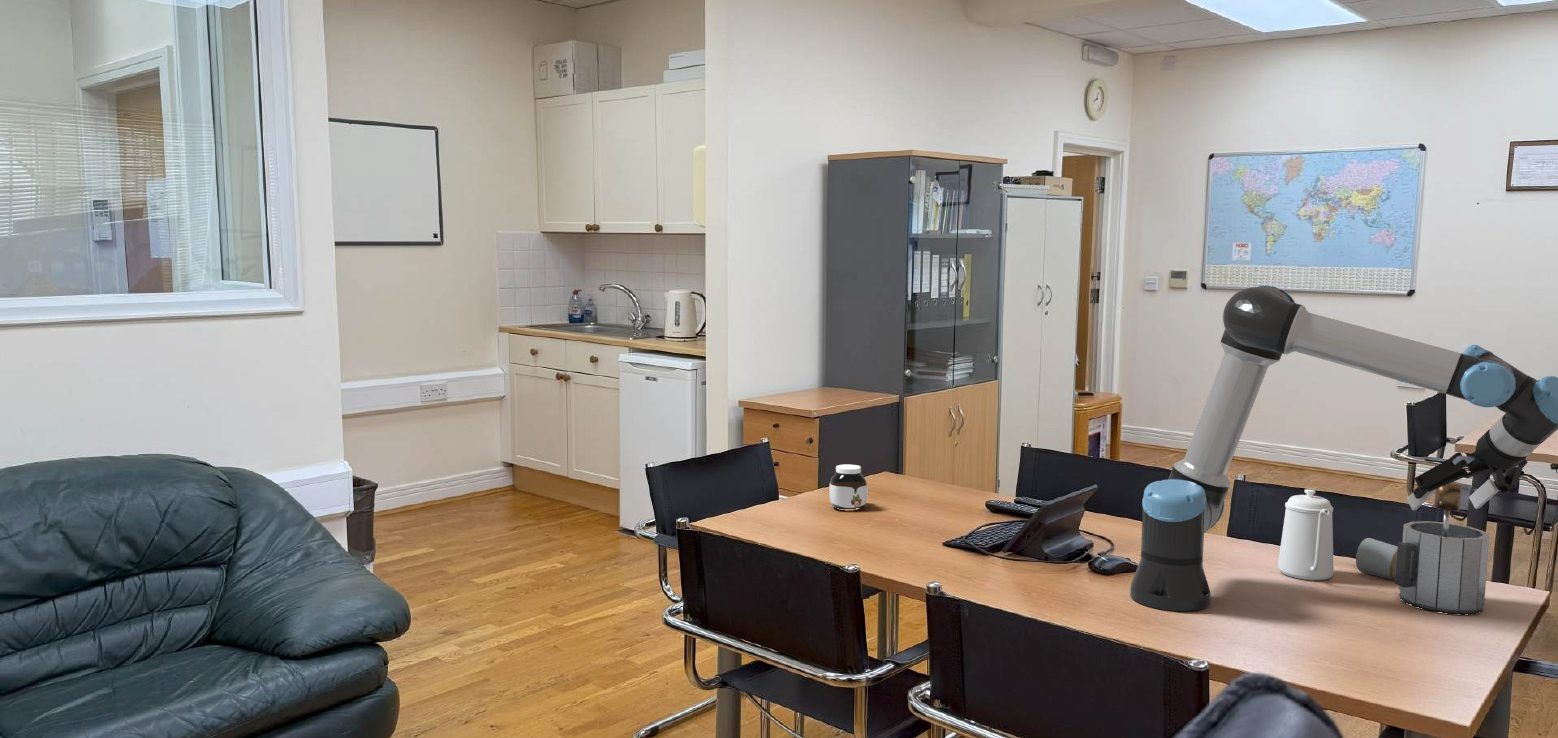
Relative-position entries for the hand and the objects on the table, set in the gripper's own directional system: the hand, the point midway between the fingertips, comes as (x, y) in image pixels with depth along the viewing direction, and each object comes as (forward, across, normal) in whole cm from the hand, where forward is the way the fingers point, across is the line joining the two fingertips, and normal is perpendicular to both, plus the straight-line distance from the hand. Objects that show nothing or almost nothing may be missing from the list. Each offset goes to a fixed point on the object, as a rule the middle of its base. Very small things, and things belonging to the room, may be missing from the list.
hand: (1442, 503), depth 210 cm
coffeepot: (+28, -15, -1) cm, 32 cm away
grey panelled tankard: (+13, -1, -15) cm, 20 cm away
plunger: (+6, 0, -8) cm, 10 cm away
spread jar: (+79, -102, +51) cm, 139 cm away
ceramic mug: (+27, +2, -2) cm, 27 cm away
